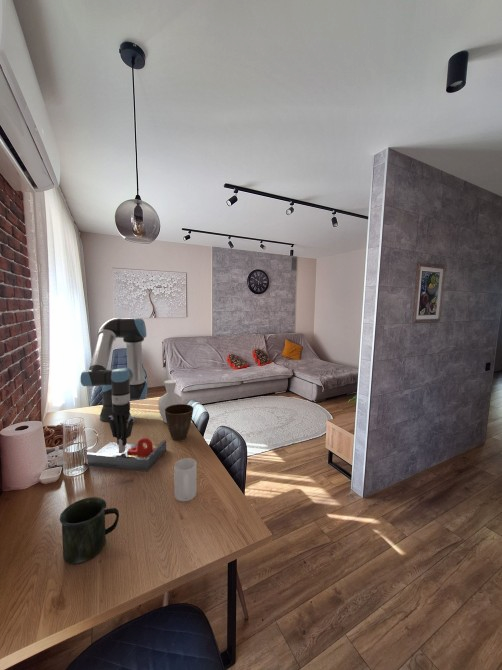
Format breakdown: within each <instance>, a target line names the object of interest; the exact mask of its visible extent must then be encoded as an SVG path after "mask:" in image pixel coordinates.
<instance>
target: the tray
mask: <svg viewBox="0 0 502 670" xmlns="http://www.w3.org/2000/svg"><path fill="white" fill-rule="evenodd" d="M137 444H138V443H136V444H135V443H127V444H126V445H125V451H124V452H123V453H119V445H117V442H113V441H110V442H108V443H107V444H105V445H104V446H103V447H101V448H100V449H99V450H97V451H96V452H87V451H86V452H87V459H88V464H89V465H88V466H91V467H92V466H93V467H102V468H112V469H121V470H122V469H123V470H132V471H140V472H149V470H151V468H152V467H153V466H154V465H155V464H156V463H157V461H158V460H160V458H161V457H162V456H163V454H164V453H165V452H166V451H167V440H166V439H163V440H162V441H160V443H159V444H158V445H156V446H155V445H152V448H153V449H154V450H153V451H152V452H151V453H150V454H149V455H148V456H146V455H136V454H127V451H128V450H129V449H130V448H132V447H137ZM143 447H145V448H147V444H145V445H144V444H143Z"/></svg>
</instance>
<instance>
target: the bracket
mask: <svg viewBox="0 0 502 670" xmlns="http://www.w3.org/2000/svg"><path fill="white" fill-rule="evenodd" d="M136 444H137V447H132V448H130V449H129V450H128V451H127V454H136V455H146V456H148V455H149V454H150V453H151V452H152V451H153V450H154V449H153V448H152V446H153V443H152V440H151V439H150V438H148V437H142V438H141V439H139V440H138V442H137V443H136ZM144 444H145V445H147V448H145V447H143V445H144Z"/></svg>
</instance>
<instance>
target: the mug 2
mask: <svg viewBox="0 0 502 670" xmlns="http://www.w3.org/2000/svg"><path fill="white" fill-rule="evenodd" d="M197 464H198V463H197V461H196V460H195V459H193V458H191V457H187V458H186V457H185V458H181V459H179V460H177V461H176V462H175V464H174V473H173V483H174V499H176V500H177V501H179V502H188V501H191V500H192V499H194V498H195V497H196V495H197Z"/></svg>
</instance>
